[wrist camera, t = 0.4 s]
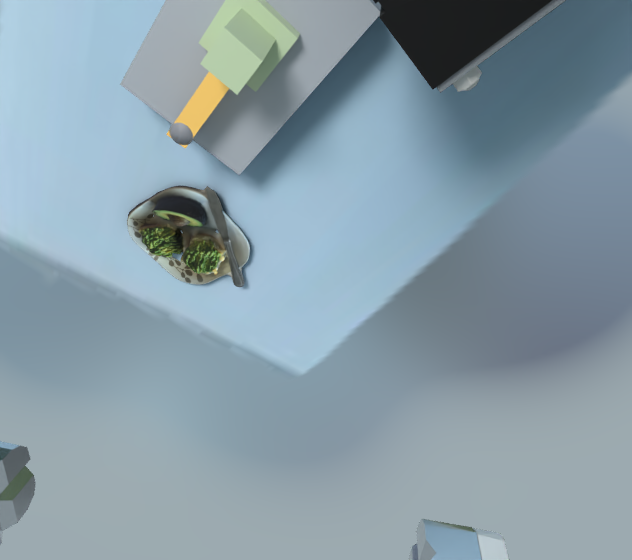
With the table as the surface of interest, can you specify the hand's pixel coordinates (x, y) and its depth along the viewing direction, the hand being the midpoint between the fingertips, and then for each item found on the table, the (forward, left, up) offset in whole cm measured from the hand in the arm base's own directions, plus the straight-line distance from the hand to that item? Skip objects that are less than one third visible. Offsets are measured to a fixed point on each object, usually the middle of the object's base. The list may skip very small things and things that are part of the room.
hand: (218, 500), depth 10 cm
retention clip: (+18, -5, -45) cm, 49 cm away
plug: (+10, -5, -49) cm, 50 cm away
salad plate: (+41, +4, -51) cm, 66 cm away
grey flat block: (+12, -5, -51) cm, 52 cm away
